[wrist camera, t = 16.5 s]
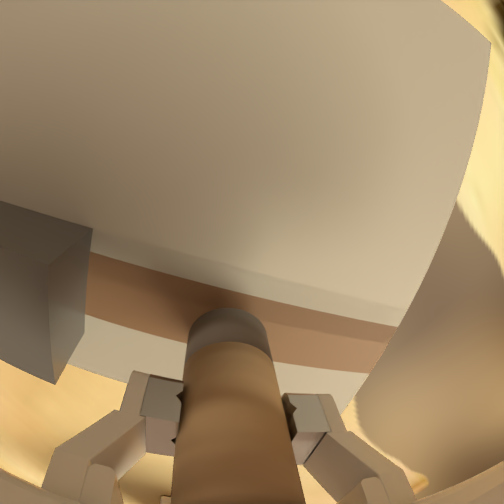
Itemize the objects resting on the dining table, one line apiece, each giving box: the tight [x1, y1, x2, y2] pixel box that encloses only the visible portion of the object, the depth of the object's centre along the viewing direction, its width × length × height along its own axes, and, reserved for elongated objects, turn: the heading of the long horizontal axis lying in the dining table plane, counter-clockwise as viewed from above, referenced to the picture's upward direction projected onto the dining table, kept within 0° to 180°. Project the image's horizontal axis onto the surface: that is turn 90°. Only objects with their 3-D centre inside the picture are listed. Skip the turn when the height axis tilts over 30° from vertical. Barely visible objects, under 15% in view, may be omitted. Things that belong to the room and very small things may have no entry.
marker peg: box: [171, 308, 306, 504], centre depth 8 cm, size 3×3×7 cm
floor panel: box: [0, 0, 491, 415], centre depth 10 cm, size 26×22×2 cm
